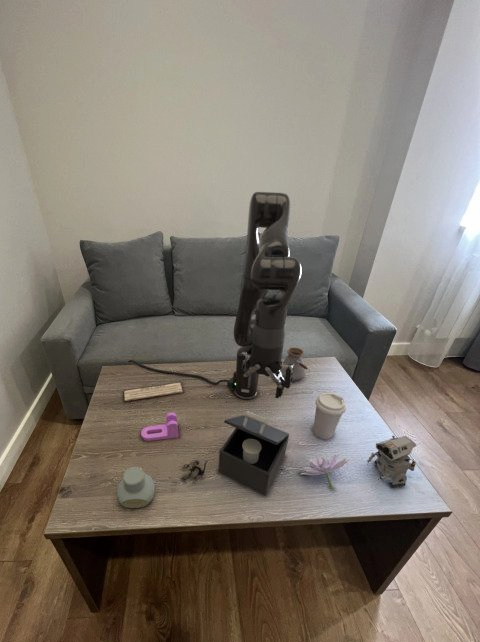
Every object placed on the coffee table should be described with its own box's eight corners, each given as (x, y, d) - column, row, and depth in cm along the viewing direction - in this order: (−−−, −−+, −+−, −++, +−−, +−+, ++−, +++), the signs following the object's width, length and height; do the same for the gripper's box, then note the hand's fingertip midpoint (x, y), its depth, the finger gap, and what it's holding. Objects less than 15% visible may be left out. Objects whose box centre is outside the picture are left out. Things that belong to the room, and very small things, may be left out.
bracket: (176, 425, 117) (176, 411, 113) (178, 437, 112) (177, 423, 108) (141, 430, 115) (139, 416, 112) (141, 441, 111) (139, 427, 107)
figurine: (356, 465, 101) (369, 432, 93) (390, 461, 102) (406, 428, 94) (373, 491, 93) (389, 457, 85) (409, 486, 94) (429, 453, 86)
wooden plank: (125, 402, 128) (124, 398, 127) (124, 391, 134) (124, 387, 133) (182, 393, 132) (182, 390, 131) (179, 383, 138) (179, 379, 137)
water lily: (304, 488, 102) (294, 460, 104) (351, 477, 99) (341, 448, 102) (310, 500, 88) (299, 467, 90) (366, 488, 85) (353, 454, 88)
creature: (177, 479, 99) (199, 487, 95) (173, 467, 97) (195, 474, 92) (191, 461, 105) (211, 468, 100) (187, 449, 102) (208, 455, 98)
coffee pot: (275, 368, 145) (279, 340, 137) (300, 368, 145) (306, 339, 137) (286, 399, 128) (291, 369, 119) (315, 399, 127) (322, 369, 119)
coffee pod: (237, 457, 97) (238, 446, 94) (248, 447, 100) (249, 435, 97) (253, 468, 94) (254, 456, 91) (263, 456, 97) (265, 445, 94)
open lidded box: (265, 496, 93) (269, 475, 87) (218, 472, 100) (219, 451, 94) (284, 456, 104) (288, 435, 99) (241, 437, 111) (243, 417, 106)
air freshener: (116, 510, 90) (111, 489, 84) (120, 484, 97) (115, 463, 91) (155, 508, 90) (152, 487, 85) (156, 482, 97) (153, 461, 92)
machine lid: (276, 445, 83) (282, 426, 83) (223, 422, 90) (229, 405, 90) (288, 436, 99) (293, 420, 98) (242, 417, 106) (247, 402, 106)
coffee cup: (339, 444, 108) (350, 411, 100) (310, 440, 110) (318, 408, 101) (334, 424, 116) (344, 392, 108) (307, 420, 117) (314, 389, 109)
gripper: (301, 339, 77) (292, 392, 85) (247, 327, 83) (243, 376, 92) (292, 354, 71) (283, 408, 80) (235, 339, 78) (232, 391, 87)
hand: (262, 391), depth 86 cm, fingers open, 8 cm apart
